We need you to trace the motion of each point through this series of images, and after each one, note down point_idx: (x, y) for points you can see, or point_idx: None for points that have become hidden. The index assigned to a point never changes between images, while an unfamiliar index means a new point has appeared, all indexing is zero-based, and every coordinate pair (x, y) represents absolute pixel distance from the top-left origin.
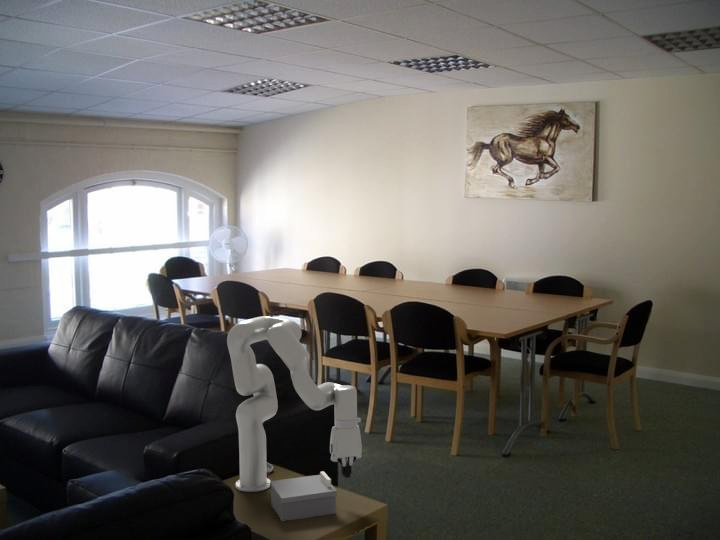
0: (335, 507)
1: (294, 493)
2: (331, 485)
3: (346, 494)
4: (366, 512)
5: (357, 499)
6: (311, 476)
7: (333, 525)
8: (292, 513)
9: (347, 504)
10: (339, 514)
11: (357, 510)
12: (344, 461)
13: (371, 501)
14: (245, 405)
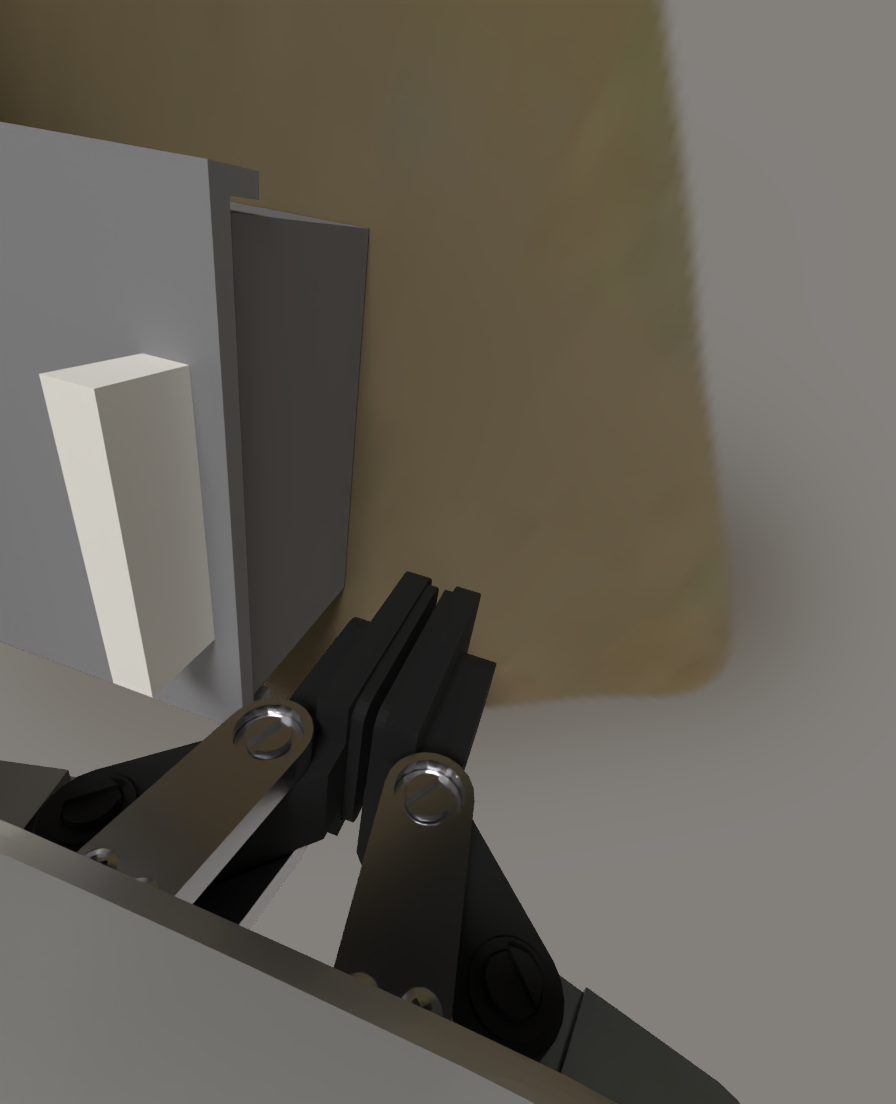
0: (321, 611)
1: None
2: (227, 618)
3: (641, 287)
4: (537, 697)
5: (646, 476)
6: (28, 163)
7: (276, 691)
8: None
9: (498, 513)
10: (361, 612)
11: (502, 640)
12: (230, 913)
13: (721, 587)
14: None
